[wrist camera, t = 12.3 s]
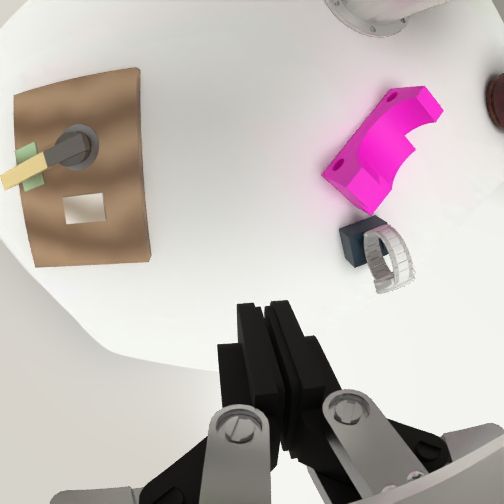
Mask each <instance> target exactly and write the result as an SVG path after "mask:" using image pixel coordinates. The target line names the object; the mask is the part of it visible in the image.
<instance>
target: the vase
mask: <svg viewBox="0 0 504 504" xmlns="http://www.w3.org/2000/svg"><path fill="white" fill-rule="evenodd" d="M486 101H487V107H488V111H489V114H490V117H491V119H492V121H493V122H494V124H495V125H496V126H497V127H499V128H500V129H504V73H503V74H501V75H500V76H499V78H494V79H492V80H491V81H490V83H489V84H488V87H487V93H486Z"/></svg>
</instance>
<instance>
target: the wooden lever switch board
mask: <svg viewBox="0 0 504 504" xmlns="http://www.w3.org/2000/svg"><path fill="white" fill-rule="evenodd" d="M76 131H80V132H84V133H86V134H87V135H88V137H89V138H90V141H91V145H92V147H91V153H90V155H89V157H88V158H87V159H86V160H85V161H84V162H82V163H79V164H76V165H73V166H70V167H65V166H62V165H61V164H58V165H56V166H54V167H52V168H50V169H48V170H46V171H44V172H41V173H40V174H38V175H36V176H34V177H32V178H30V179H28V180H26V181H24V182H22V183H20V184H19V188H20V195H21V201H22V207H23V213H24V219H25V224H26V229H27V234H28V238H29V243H30V247H31V252H32V256H33V260H34V264H35V267H57V266H78V265H98V264H118V263H138V262H149V260H150V257H151V250H150V241H149V233H148V224H147V214H146V204H145V193H144V180H143V166H142V148H141V122H140V70H139V69H138V68H136V67H135V68H128V69H121V70H115V71H109V72H104V73H98V74H93V75H88V76H83V77H79V78H74V79H70V80H66V81H62V82H58V83H54V84H50V85H46V86H43V87H39V88H36V89H32V90H29V91H26V92H23V93H20V94H17V95H14V136H15V155H16V162H17V165H19V164H21V163H23V162H24V161H26V160H28V159H30V158H32V157H34V156H36V155H37V154H39V153H41V152H43V151H45V150H47V149H49V148H51V147H53V146H55V143H56V141H57V139H58V138H59V137H60V136H61V135H62V134H64V133H67V132H76Z"/></svg>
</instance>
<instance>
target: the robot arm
mask: <svg viewBox="0 0 504 504" xmlns="http://www.w3.org/2000/svg"><path fill="white" fill-rule="evenodd" d="M448 1H451V0H325V2H326V4H327V5H328V7H329V8H330V10H331V11H332V12H333V13H334V14H335V16H336V17H337V18H338V19H339V20H340V21H342V22H343V23H344V24H345V25H347V26H348V27H350V28H351V29H353V30H355V31H357V32H359V33H361V34H364V35H368V36H371V37H388V36H391V35H394V34H396V33H398V32H400V31H401V30H402V29H403V28H404V27H405V26H406V25H407V23H408V20H409V17H410V15H412V14H415V13H417V12H420V11H423V10H425V9H428V8H431V7H434V6H436V5H439V4H442V3H445V2H448ZM334 4H335V5H334ZM370 30H371V31H370ZM237 329H238V343H232V344H217V348H218V361H219V373H220V385H221V396H222V407H223V408H222V409H221V410H219V411H217V412H216V413H215V415H214V416H213V417H212V419H211V421H210V424H209V431H208V436H207V437H206V438H204V439H203V440H202V441H201V442H200V443H198V444H197V445H196V446H195V447H194V448H192V449H191V450H190V451H189V452H188V453H186V454H185V455H184V456H183V457H181V458H180V459H179V460H178V461H176V462H175V463H174V464H173V465H171V466H170V467H169V468H167V469H166V470H165V471H164V472H162V473H161V474H160V475H158V476H157V477H156V478H154V479H153V480H152V481H150V482H149V483H148V484H147V485H146V486H145V487H142V488H135V489H131V487H129V486H128V487H120V488H107V489H94V490H67V491H61V492H59V493H57V494H56V495H54V497H53V498H52V499H51V501H50V504H271V476H270V472H271V471H272V470H273V469H274V468H275V467H276V465H277V460H278V453H279V445H280V441H281V445H282V449H283V451H288V450H289V452H290V456H291V459H294V458H298V462H301V463H303V464H305V465H307V469H308V472H309V474H310V476H311V478H312V480H313V482H314V484H315V486H316V488H317V490H318V492H319V494H320V495H321V497H322V499H323V501H324V503H325V504H504V430H503V428H502V427H500V426H499V425H496V424H494V423H487V424H484V425H479V426H475V427H471V428H467V429H463V430H459V431H454V432H448V433H444V434H443V435H442V436H441V437H438V436H436V435H434V434H432V433H428V432H425V431H422V430H419V429H416V428H413V427H410V426H407V425H404V424H401V423H398V422H396V421H393V420H390V419H387V418H386V417H385V416H384V415H383V414H382V412H381V411H380V410H379V408H378V407H377V406H376V404H375V403H374V402H373V401H372V399H371V398H369V397H368V396H367V395H366V394H364V393H362V392H360V391H356V390H350V389H348V390H347V389H344V390H342V389H341V387H340V385H339V383H338V381H337V379H336V377H335V374H334V372H333V370H332V368H331V366H330V364H329V362H328V360H327V358H326V356H325V354H324V352H323V350H322V348H321V346H320V344H319V342H318V340H317V338H316V337H315V336H314V335H313V336H305V337H304V335H303V333H302V330H301V328H300V326H299V324H298V321H297V319H296V317H295V315H294V312H293V310H292V308H291V306H290V304H289V302H288V300H283V301H271V303H270V306H265V311H264V316H263V313H262V310H261V307H255V305H254V303H243V304H237Z"/></svg>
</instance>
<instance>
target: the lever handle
mask: <svg viewBox="0 0 504 504" xmlns="http://www.w3.org/2000/svg"><path fill="white" fill-rule="evenodd" d="M91 147H92V145H91V141H90V138H89V137H88V135H87V134H86V133H84V132H80V131H76V132H67V133H64V134H62V135H61V136H60V137H59V138H58V139H57V141H56V143H55V146H53V147H51V148H49V149H47V150H45V151H43V152H41V153H39V154H37V155H36V156H34V157H32V158H30V159H28V160H26V161H24V162H23V163H21V164H19V165H17V166H16V167H14V168H12V169H10V170H9V171H7V172H5V173H4V174H2V175H0V177H1V180H2V184H3V187H4V190H7V189H9V188H12V187H14V186H16V185H18V184H20V183H22V182H24V181H26V180H28V179H30V178H32V177H34V176H36V175H38V174H40V173H41V172H44V171H46V170H48V169H50V168H52V167H54V166H56V165H58V164H61V165H62V166H65V167H70V166H73V165H76V164H79V163H82V162H84V161H85V160H86V159H87V158H88V157H89V155H90V153H91Z"/></svg>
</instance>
